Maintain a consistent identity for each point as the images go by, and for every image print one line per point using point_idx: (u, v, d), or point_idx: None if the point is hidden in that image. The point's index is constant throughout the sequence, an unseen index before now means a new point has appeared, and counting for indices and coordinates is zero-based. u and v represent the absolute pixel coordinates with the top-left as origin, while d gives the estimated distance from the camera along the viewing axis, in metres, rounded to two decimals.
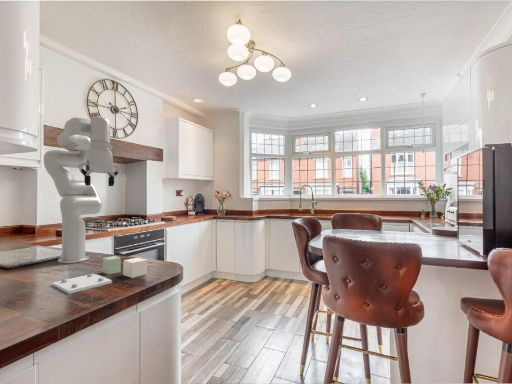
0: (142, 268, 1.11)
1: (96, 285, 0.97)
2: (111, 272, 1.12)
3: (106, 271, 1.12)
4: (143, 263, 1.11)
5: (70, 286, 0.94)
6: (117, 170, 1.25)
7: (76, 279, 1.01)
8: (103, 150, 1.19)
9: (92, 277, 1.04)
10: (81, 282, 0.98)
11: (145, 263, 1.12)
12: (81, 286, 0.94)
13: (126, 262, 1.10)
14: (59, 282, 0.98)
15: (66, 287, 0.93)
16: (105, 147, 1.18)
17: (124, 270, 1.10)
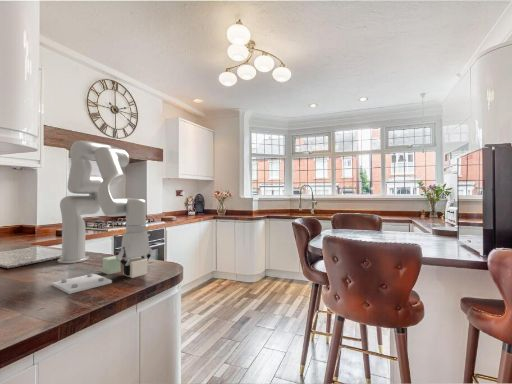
0: (142, 268, 1.11)
1: (96, 285, 0.97)
2: (111, 272, 1.12)
3: (106, 271, 1.12)
4: (143, 262, 1.11)
5: (70, 286, 0.94)
6: (150, 253, 1.17)
7: (76, 279, 1.01)
8: (140, 234, 1.11)
9: (92, 277, 1.04)
10: (81, 282, 0.98)
11: (145, 263, 1.12)
12: (81, 286, 0.94)
13: None
14: (59, 282, 0.98)
15: (66, 287, 0.93)
16: (142, 231, 1.10)
17: None
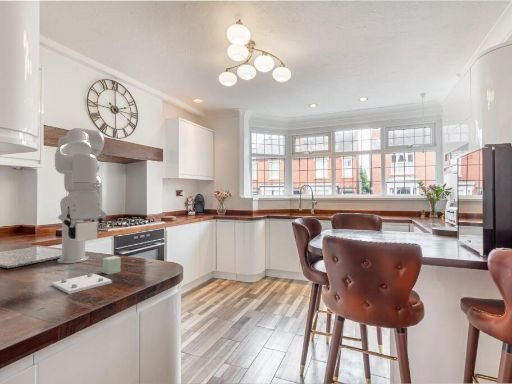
0: (90, 231, 0.98)
1: (96, 285, 0.97)
2: (111, 272, 1.12)
3: (106, 271, 1.12)
4: (91, 225, 0.99)
5: (70, 286, 0.94)
6: (102, 216, 1.04)
7: (76, 279, 1.01)
8: (88, 193, 0.98)
9: (92, 277, 1.04)
10: (81, 282, 0.98)
11: (95, 226, 1.00)
12: (81, 286, 0.94)
13: None
14: (59, 282, 0.98)
15: (66, 287, 0.93)
16: (90, 189, 0.98)
17: None
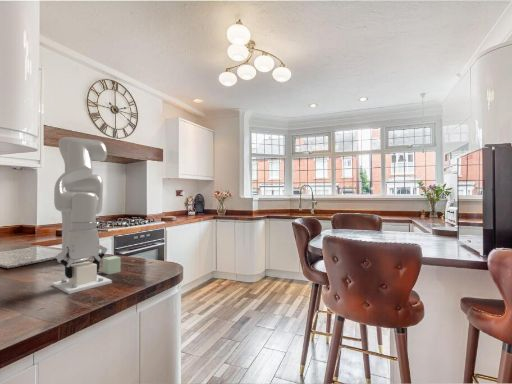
0: (89, 274, 0.98)
1: (96, 285, 0.97)
2: (111, 272, 1.12)
3: (106, 271, 1.12)
4: (91, 268, 0.99)
5: (70, 286, 0.94)
6: (104, 251, 1.05)
7: None
8: (87, 232, 0.98)
9: None
10: None
11: (94, 268, 1.00)
12: (81, 286, 0.94)
13: None
14: (59, 282, 0.98)
15: (66, 287, 0.93)
16: (89, 229, 0.98)
17: None
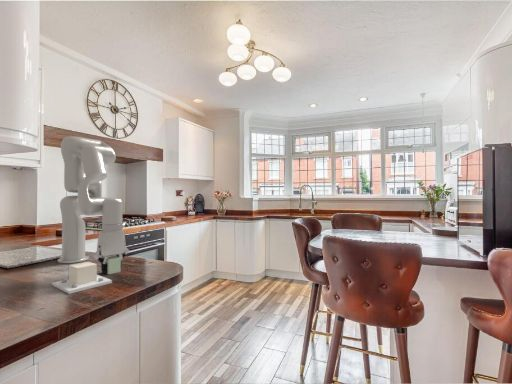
0: (89, 274, 0.98)
1: (96, 285, 0.97)
2: (111, 272, 1.12)
3: None
4: (91, 268, 0.99)
5: (70, 286, 0.94)
6: (126, 252, 1.19)
7: None
8: (115, 232, 1.14)
9: None
10: None
11: (94, 268, 1.00)
12: (81, 286, 0.94)
13: (71, 267, 0.97)
14: (59, 282, 0.98)
15: (66, 287, 0.93)
16: (117, 230, 1.13)
17: (69, 276, 0.98)
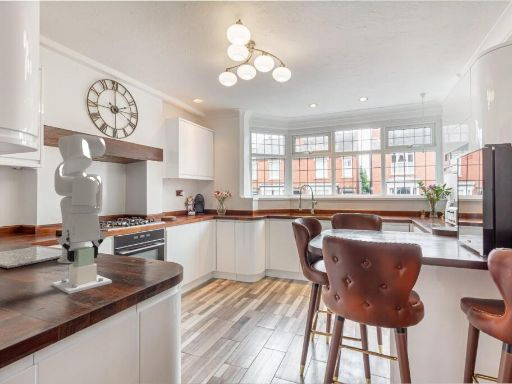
0: (89, 274, 0.98)
1: (96, 285, 0.97)
2: (82, 264, 0.97)
3: (76, 263, 0.97)
4: (91, 268, 0.99)
5: (70, 286, 0.94)
6: (103, 237, 1.05)
7: None
8: (87, 216, 0.98)
9: None
10: None
11: (94, 268, 1.00)
12: (81, 286, 0.94)
13: (71, 267, 0.97)
14: (59, 282, 0.98)
15: (66, 287, 0.93)
16: (89, 212, 0.98)
17: (70, 276, 0.98)
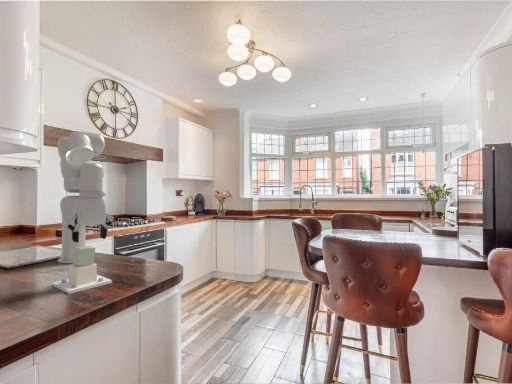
0: (89, 274, 0.98)
1: (96, 285, 0.97)
2: (82, 263, 0.97)
3: (76, 262, 0.97)
4: (91, 268, 0.99)
5: (70, 286, 0.94)
6: (110, 219, 1.11)
7: None
8: (94, 200, 1.03)
9: None
10: None
11: (94, 268, 1.00)
12: (81, 286, 0.94)
13: (71, 267, 0.97)
14: (59, 282, 0.98)
15: (66, 287, 0.93)
16: (96, 197, 1.03)
17: (70, 276, 0.98)
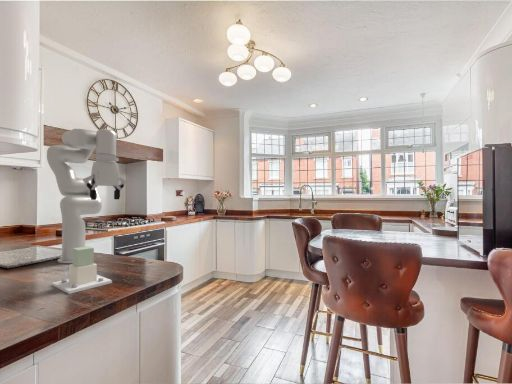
0: (89, 274, 0.98)
1: (96, 285, 0.97)
2: (81, 264, 0.97)
3: (76, 263, 0.97)
4: (91, 268, 0.99)
5: (70, 286, 0.94)
6: (123, 183, 1.22)
7: None
8: (109, 163, 1.15)
9: None
10: None
11: (94, 268, 1.00)
12: (81, 286, 0.94)
13: (71, 267, 0.97)
14: (59, 282, 0.98)
15: (66, 287, 0.93)
16: (111, 160, 1.15)
17: (70, 276, 0.98)
